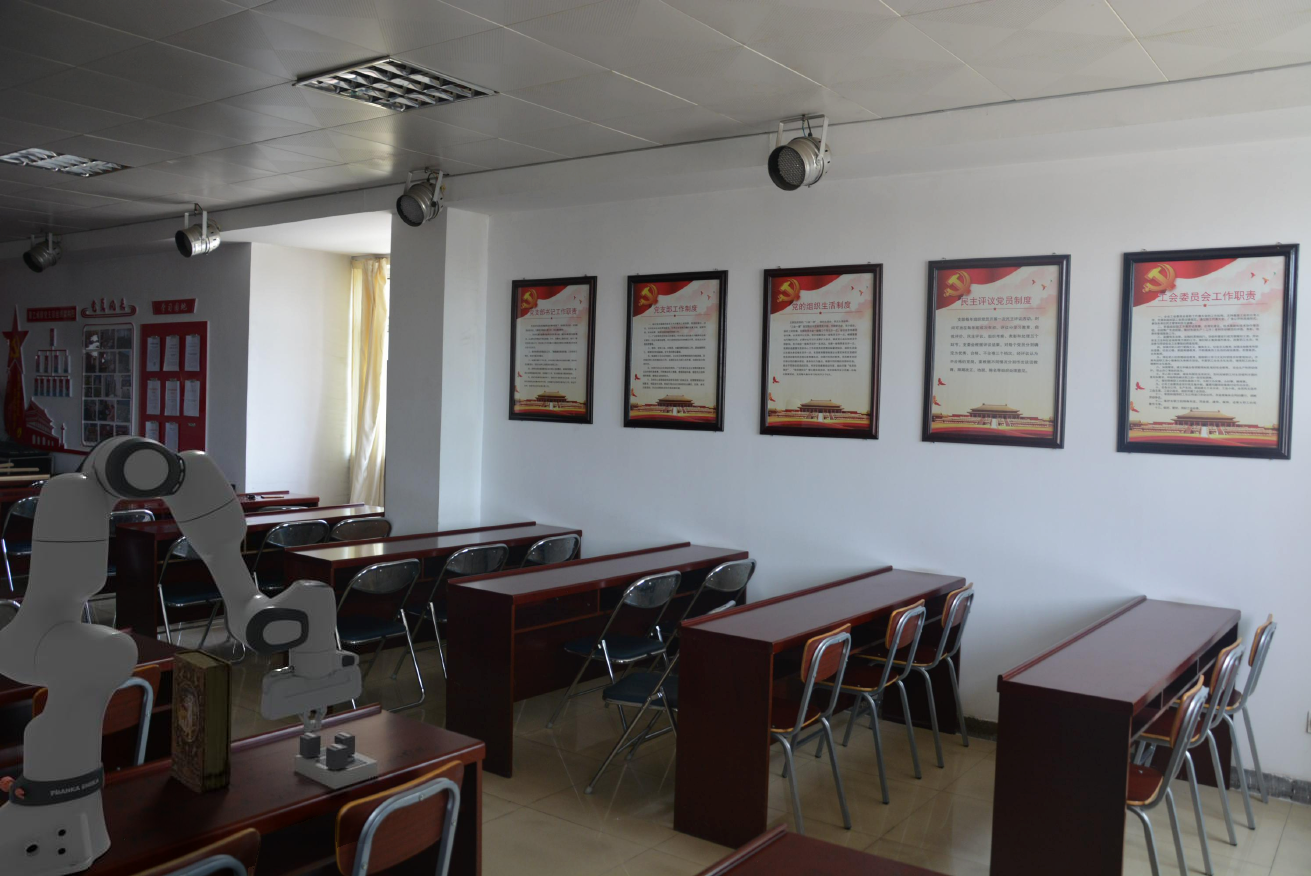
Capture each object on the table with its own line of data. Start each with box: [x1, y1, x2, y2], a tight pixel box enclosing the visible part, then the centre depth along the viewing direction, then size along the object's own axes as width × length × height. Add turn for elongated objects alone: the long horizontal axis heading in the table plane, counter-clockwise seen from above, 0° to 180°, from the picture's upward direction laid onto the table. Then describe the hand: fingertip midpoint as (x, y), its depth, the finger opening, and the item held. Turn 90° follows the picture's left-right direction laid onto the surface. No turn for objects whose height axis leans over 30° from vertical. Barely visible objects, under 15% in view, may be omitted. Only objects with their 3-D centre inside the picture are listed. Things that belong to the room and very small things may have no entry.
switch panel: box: [293, 747, 379, 790], centre depth 198 cm, size 10×15×3 cm, turn 51°
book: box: [170, 649, 233, 795], centre depth 192 cm, size 16×6×25 cm, turn 48°
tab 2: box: [325, 743, 348, 770], centre depth 193 cm, size 3×3×4 cm
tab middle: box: [333, 732, 356, 756], centre depth 200 cm, size 3×3×4 cm
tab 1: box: [298, 732, 322, 758], centre depth 199 cm, size 3×3×4 cm
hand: (312, 730), depth 188 cm, fingers closed
